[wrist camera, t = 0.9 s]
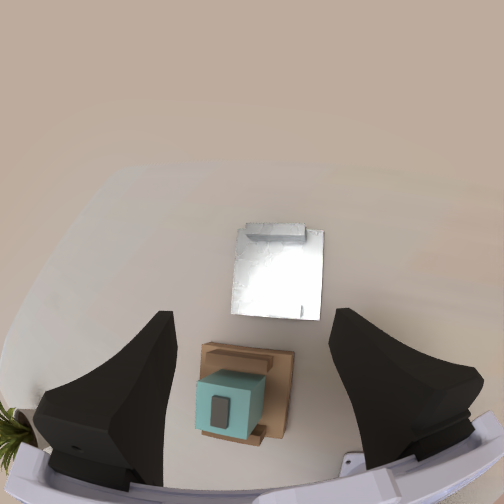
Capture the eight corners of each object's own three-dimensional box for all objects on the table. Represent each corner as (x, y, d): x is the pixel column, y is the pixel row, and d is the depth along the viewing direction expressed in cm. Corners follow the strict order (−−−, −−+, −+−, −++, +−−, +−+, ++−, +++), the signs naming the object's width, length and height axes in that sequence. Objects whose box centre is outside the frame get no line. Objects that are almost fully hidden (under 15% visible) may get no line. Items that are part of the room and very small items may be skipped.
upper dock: (285, 430, 23) (277, 451, 18) (205, 416, 25) (185, 432, 21) (294, 351, 24) (287, 360, 20) (210, 342, 26) (189, 347, 22)
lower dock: (319, 319, 24) (318, 321, 21) (232, 313, 26) (221, 313, 23) (323, 231, 26) (323, 221, 23) (239, 230, 28) (229, 220, 25)
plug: (261, 417, 22) (244, 442, 16) (218, 409, 23) (192, 430, 18) (265, 375, 22) (248, 392, 17) (221, 369, 23) (193, 382, 18)
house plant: (87, 408, 28) (-13, 430, 13) (92, 479, 26) (15, 513, 11) (33, 369, 32) (-48, 371, 17) (38, 436, 30) (-32, 450, 15)
